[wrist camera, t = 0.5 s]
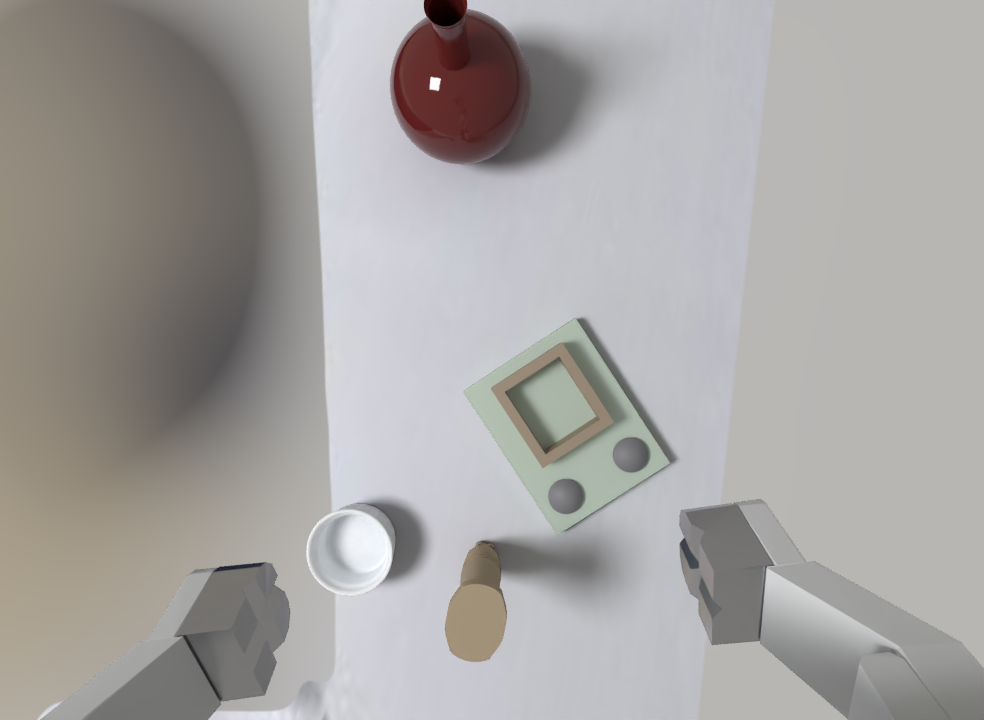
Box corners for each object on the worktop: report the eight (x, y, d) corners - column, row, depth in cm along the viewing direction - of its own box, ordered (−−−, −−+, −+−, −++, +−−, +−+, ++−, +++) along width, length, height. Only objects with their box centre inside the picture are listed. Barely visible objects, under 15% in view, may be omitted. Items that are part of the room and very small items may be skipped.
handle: (510, 530, 61) (512, 590, 46) (499, 588, 61) (497, 667, 46) (466, 521, 61) (453, 578, 46) (456, 579, 61) (439, 655, 46)
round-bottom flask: (546, 83, 59) (567, -51, 39) (500, 199, 60) (497, 126, 40) (431, 37, 60) (393, -118, 40) (385, 154, 60) (325, 58, 40)
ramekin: (311, 566, 62) (296, 583, 57) (331, 488, 61) (318, 499, 57) (389, 588, 61) (380, 606, 57) (410, 510, 61) (402, 523, 57)
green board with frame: (666, 460, 60) (677, 468, 56) (555, 530, 61) (559, 543, 57) (573, 318, 60) (578, 316, 56) (464, 390, 60) (460, 393, 56)
